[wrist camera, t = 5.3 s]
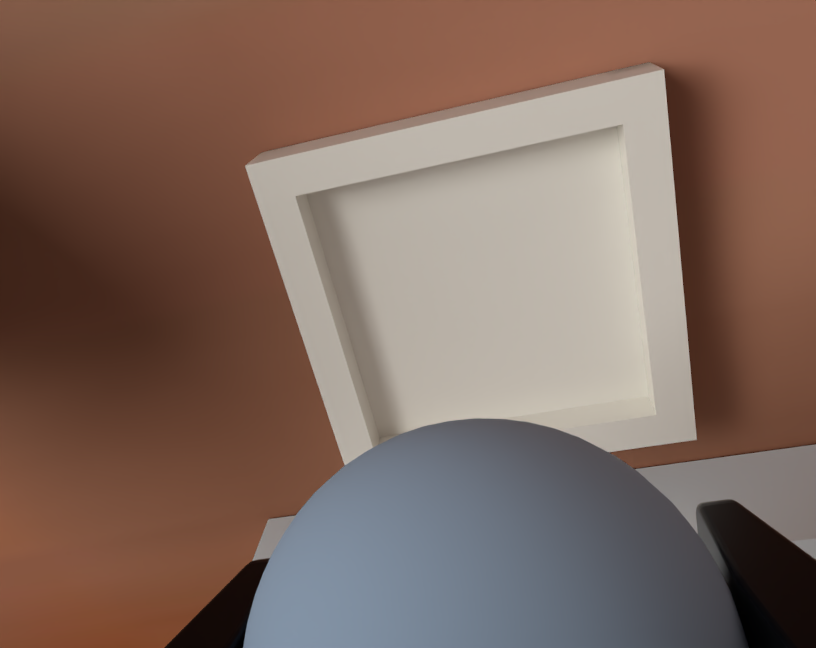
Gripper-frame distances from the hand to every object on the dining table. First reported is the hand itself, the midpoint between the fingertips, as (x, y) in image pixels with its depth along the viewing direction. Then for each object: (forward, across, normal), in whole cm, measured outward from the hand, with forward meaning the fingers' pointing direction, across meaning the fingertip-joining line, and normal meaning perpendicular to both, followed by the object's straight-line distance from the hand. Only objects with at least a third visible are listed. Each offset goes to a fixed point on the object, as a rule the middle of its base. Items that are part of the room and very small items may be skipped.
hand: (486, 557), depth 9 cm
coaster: (+8, 0, 0) cm, 8 cm away
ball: (+1, 0, 0) cm, 1 cm away
